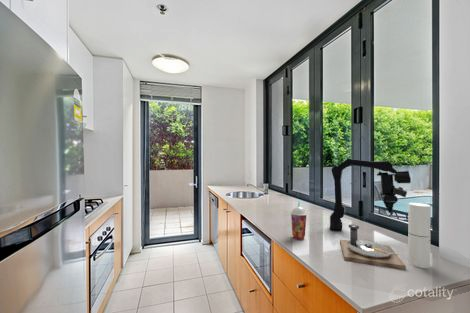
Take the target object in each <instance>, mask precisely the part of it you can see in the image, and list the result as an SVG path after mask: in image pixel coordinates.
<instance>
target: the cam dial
mask: <svg viewBox="0 0 470 313" xmlns="http://www.w3.org/2000/svg"><path fill="white" fill-rule="evenodd" d="M348 228H349V234H350V235H349V240H350V241H349V242H348V248H349V249H350V250H351V251H352V252H354V253H357V254H359V255H362V256H366V257H371V258H388V257H390V256H391V250H390V249H389V248H388V247H386V246H384V245H385V244H381V243H378V242H375V241H370V240H364V239H358V230H359V229H360V226H359V225H357V224H348Z"/></svg>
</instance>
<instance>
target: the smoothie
mask: <svg viewBox="0 0 470 313" xmlns="http://www.w3.org/2000/svg"><path fill="white" fill-rule="evenodd" d="M297 203H298V204H297V205H298V206H295V207H293V208H292V210H291V212H290V216H291V234H292V238H293V239H295V240H300V241H301V240H304V239H305V237H306V229H307V228H306V226H307V215H308V213H307V212H306V209H305V208H304V207H302V206H301V205H300V201H298V202H297Z"/></svg>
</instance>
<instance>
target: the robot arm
mask: <svg viewBox="0 0 470 313" xmlns="http://www.w3.org/2000/svg"><path fill="white" fill-rule="evenodd" d="M349 166H356V167H364V168H372V169H376V170H379V171H378V173H377V174H376V176H377V177H378V176H380V188H381V190H380V192H379V196H380V198H381V201H382V202H383V204H384V206H385V208H386V210H387V212H388V213H389V214H392V212H393V208H394V205H395V204H396V203H397V202H398V201H399V200H398V197H397V196H401V197H402V198H406V196H407V194H408V191H407V190H404V188H403V187H402V186H399V187H396V186H395V184H394V182H396V184H411V182H412V181H411V176H410V172H409V170H403V171H402V170H400V171H397V169H395V168H394V167H393V164H392V162H390V161H389V160H388V161H386V160H383V161H382V160H379V161H378V160H377V161H372V160H371V161H370V160H362V159H353V158H347V159H346V160H344V161H343V162H341V163H340V164H339V165H334V166H333V167H332V168H331V173H332V177H333V182H334V201H335V202H334V208H333V212H332V213H331V214H330V215H329V230H330V231H336V232H342V230H343V222H342V219H343V217H344V215H346V213H347V210H346V205H344V204H343V194H342V193H343V192H342V190H343V189H342V177H343V170H345V169H346V168H348V167H349ZM381 171H382V172H381ZM388 172H389V173H388ZM396 195H397V196H396Z"/></svg>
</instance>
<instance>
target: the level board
mask: <svg viewBox="0 0 470 313" xmlns="http://www.w3.org/2000/svg"><path fill="white" fill-rule="evenodd" d="M349 241H350V239H343V238H342V239H341V238H340V240H339V242H340V247H341V252H342V256H343V260H344V261H347V262H348V261H349V262H355V263H361V264H367V265H374V266H380V267H386V268H387V267H388V268H393V269H399V270H404V271H405V270H406V266H407V265H406V264H405V263H404V262H403V260H401V258H400V256H399V255H398V253H396V252H395V250H394V249H393V248H392V247H391V245H390V244H389V245H388V244H383V245H384V246H386V247H388V248H389V249H390V250H391V256H390V257H388V258H371V257H366V256H362V255H359V254H357V253H354V252H352V251H351V250H350V249H349V248H348V242H349Z"/></svg>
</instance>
